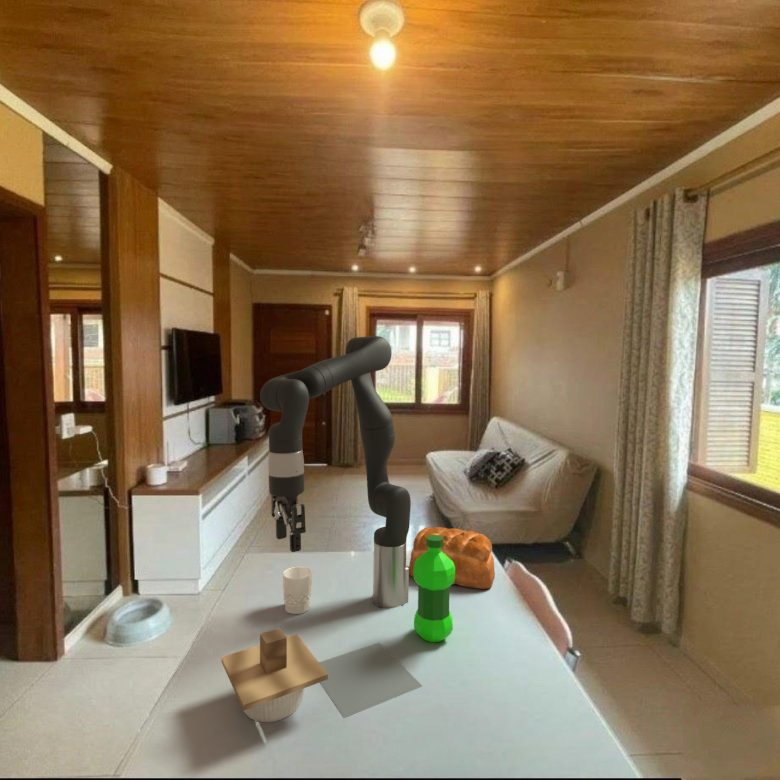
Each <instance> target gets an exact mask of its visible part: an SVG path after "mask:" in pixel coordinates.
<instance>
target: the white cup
mask: <svg viewBox="0 0 780 780" xmlns="http://www.w3.org/2000/svg"><path fill="white" fill-rule="evenodd" d="M312 581H313V571H312V569H311V568H310V567H307V566H293V567H289V568H287V569H285V570H284V571H283V573H282V583H283V585H282V586H283V587H282V589H283V600H284V611H285V612H286V613H288V614H292V615H301V614H305V613H306V612H307V611H309V609H310V608H311V597H312V585H313V584H312Z"/></svg>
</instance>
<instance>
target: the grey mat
mask: <svg viewBox="0 0 780 780" xmlns="http://www.w3.org/2000/svg"><path fill="white" fill-rule="evenodd" d="M318 662H319V663H320V665H321V666H322V667H323V668H324V670H325V671H326V672H327V674H328V679H327V680H325V681H322V682H319V684H320V685H321V687H322V688H323V689H324V691H325V693H326V694H327V696H328V697H329V699H330V700H331V702H332V703H333V705H334V706H335V707H336V709H337V710H338V712H339V713H340V714H341V716H342V718H344V719H345V718H348V717H351V716H353V715H355V714H357V713H360V712H362V711H365V710H368V709H370V708H373V707H375V706H378V705H380V704H383V703H385V702H387V701H389V700H392V699H394V698H397V697H399V696H402V695H404V694H407V693H409V692H411V691H413V690H416V689H419V688H421V687H423V685H422V684H421V683H420V682H419V681H418V680H417V679H416V678H415V677H414V676H413V675H412V674H411V673H410V672H409V671H408V669H406V667H404V666H403V665H402V663H400V662H399V660H397V659H396V657H394V656H393V655H392V654H391V652H390V651H389V650H388V649H387V648H385V647H384V645H383V644H382V643H381V642H377V643H372V644H371V645H367V646H365V647H361V648H359V649H355V650H352V651H349V652H346V653H343V654H339V655H337V656H334V657H331V658H327V659H325V660H322V661H318Z"/></svg>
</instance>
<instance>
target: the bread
mask: <svg viewBox="0 0 780 780" xmlns="http://www.w3.org/2000/svg"><path fill="white" fill-rule="evenodd" d="M429 535H440V536H442V537H443V547H441V551H442V552H443V553H444V554H445V555H446V556H448V557H449V558H450V559H451V560H452V561H453V563H454V566H455V580H454V583H453V584H452V585H458V586H461V587H467V588H472V589H473V588H474V589H481V590H485V589H490V588H492V585H493V583H494V579H495V577H496V576H495V575H496V571H495V559H494V555H493V553H492V550H493V545H492V542H491V540H490V539H489V538H488V537H487V536H486V535H485V534H483V533H479V532H478V531H475V530H463V529H460V528H447V527H440V526H437V527H431V526H428V527H424V528H423V529H420V531H419V532H418V533H417V534H416V535H415V538H414V540H413V547H412V550H411V552H410V560H409V567H408V568H409V575H410V576H411V577H412V578H413V579H414V576H413V569H414V564H415V561H416V559H417V558H419V557H420V556H421V555H422V554H424V553H425V552H427V551H428V546H426V537H427V536H429Z"/></svg>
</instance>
